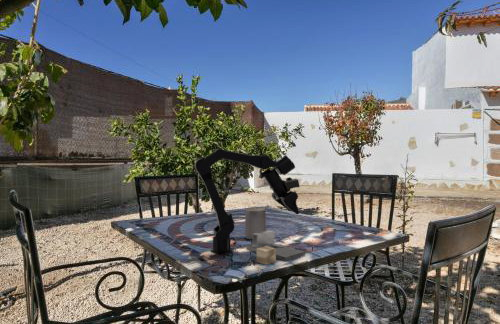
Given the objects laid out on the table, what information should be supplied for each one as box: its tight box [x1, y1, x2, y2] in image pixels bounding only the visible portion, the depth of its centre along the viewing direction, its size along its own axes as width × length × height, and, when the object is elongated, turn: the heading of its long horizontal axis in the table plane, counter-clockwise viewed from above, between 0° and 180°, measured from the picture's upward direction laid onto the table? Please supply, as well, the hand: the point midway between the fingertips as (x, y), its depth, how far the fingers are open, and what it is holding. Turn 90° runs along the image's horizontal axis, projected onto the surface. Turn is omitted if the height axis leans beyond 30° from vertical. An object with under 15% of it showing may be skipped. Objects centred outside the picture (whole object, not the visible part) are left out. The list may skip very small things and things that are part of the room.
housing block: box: [256, 246, 277, 266], centre depth 132 cm, size 5×5×5 cm
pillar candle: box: [244, 205, 267, 240], centre depth 171 cm, size 10×10×15 cm
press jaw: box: [251, 230, 275, 247], centre depth 149 cm, size 10×3×5 cm, turn 131°
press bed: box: [245, 243, 306, 262], centre depth 145 cm, size 11×22×2 cm, turn 42°
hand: (294, 212), depth 153 cm, fingers open, 9 cm apart
